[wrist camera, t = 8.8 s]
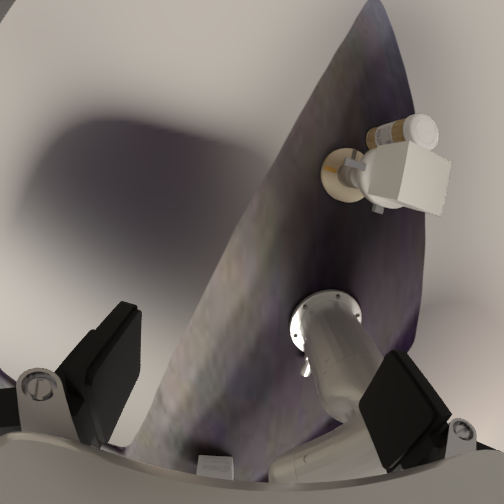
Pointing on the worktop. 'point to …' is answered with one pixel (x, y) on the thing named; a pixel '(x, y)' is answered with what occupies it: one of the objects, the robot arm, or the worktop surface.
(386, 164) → the coupling cap
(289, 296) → the worktop surface
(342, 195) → the post base
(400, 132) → the sprinkles bottle
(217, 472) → the supplement box
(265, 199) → the worktop surface
